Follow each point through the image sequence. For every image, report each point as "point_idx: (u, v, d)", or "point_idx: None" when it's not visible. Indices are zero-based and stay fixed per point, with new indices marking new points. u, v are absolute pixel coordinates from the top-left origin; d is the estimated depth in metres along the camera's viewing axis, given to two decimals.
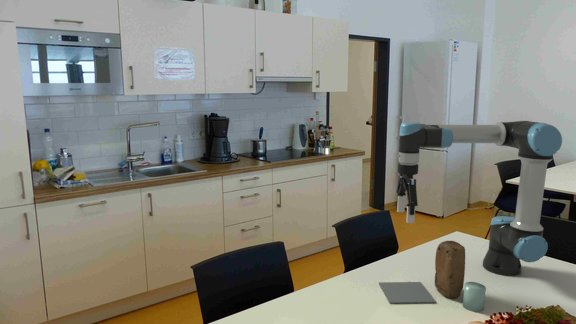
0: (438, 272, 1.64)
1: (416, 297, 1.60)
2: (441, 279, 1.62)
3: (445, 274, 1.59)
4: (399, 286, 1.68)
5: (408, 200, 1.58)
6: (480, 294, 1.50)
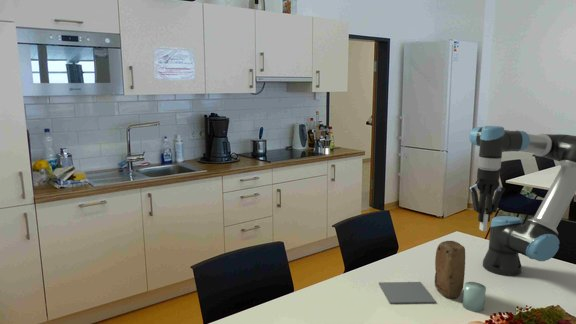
0: (438, 272, 1.64)
1: (416, 297, 1.60)
2: (441, 279, 1.62)
3: (445, 274, 1.59)
4: (399, 286, 1.68)
5: None
6: (480, 294, 1.50)
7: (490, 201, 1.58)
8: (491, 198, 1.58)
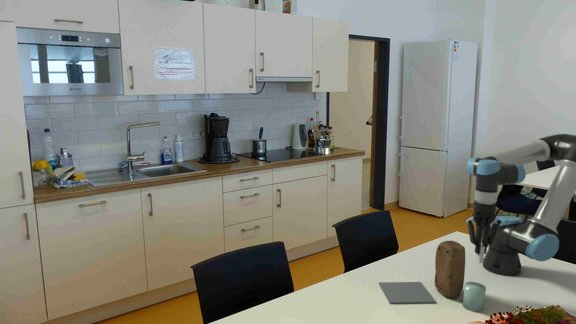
0: (438, 272, 1.64)
1: (416, 297, 1.60)
2: (441, 279, 1.62)
3: (445, 274, 1.59)
4: (399, 286, 1.68)
5: None
6: (480, 294, 1.50)
7: (486, 233, 1.60)
8: (487, 231, 1.60)
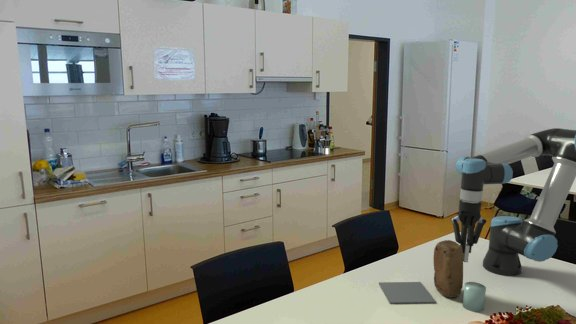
0: (437, 272, 1.64)
1: (416, 297, 1.60)
2: (440, 280, 1.62)
3: (444, 275, 1.59)
4: (399, 286, 1.68)
5: None
6: (480, 294, 1.50)
7: (471, 233, 1.60)
8: (472, 230, 1.60)
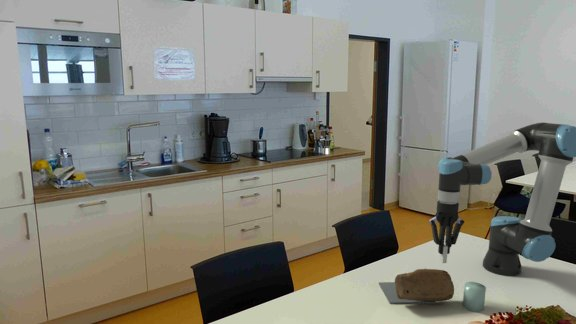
0: None
1: None
2: None
3: None
4: None
5: None
6: (480, 294, 1.50)
7: (449, 233, 1.60)
8: (450, 230, 1.59)
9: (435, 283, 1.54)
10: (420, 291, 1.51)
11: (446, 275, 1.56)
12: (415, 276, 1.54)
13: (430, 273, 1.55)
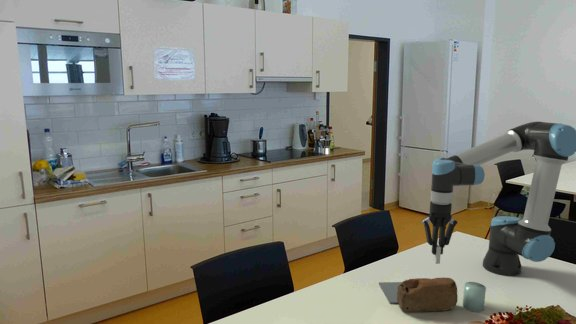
0: None
1: None
2: None
3: None
4: None
5: None
6: (480, 294, 1.50)
7: (442, 234, 1.60)
8: (443, 231, 1.59)
9: (438, 299, 1.49)
10: (420, 307, 1.50)
11: (452, 290, 1.49)
12: (419, 294, 1.48)
13: (435, 290, 1.48)
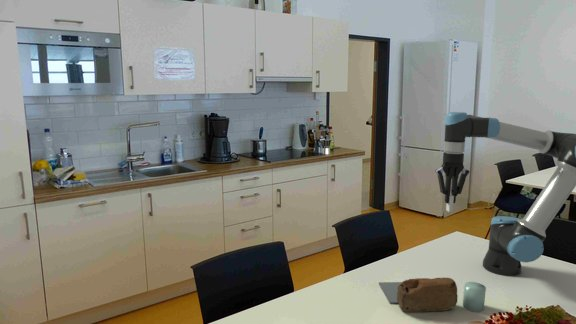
0: None
1: None
2: None
3: None
4: None
5: None
6: (480, 294, 1.50)
7: (455, 183, 1.67)
8: (456, 180, 1.67)
9: (438, 299, 1.49)
10: (420, 307, 1.50)
11: (452, 290, 1.49)
12: (419, 294, 1.48)
13: (435, 290, 1.48)
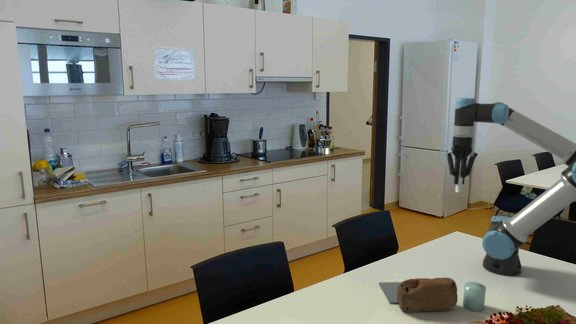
0: None
1: None
2: None
3: None
4: None
5: None
6: (480, 294, 1.50)
7: (464, 165, 1.77)
8: (465, 162, 1.77)
9: (438, 299, 1.49)
10: (420, 307, 1.50)
11: (452, 290, 1.49)
12: (419, 294, 1.48)
13: (435, 290, 1.48)
